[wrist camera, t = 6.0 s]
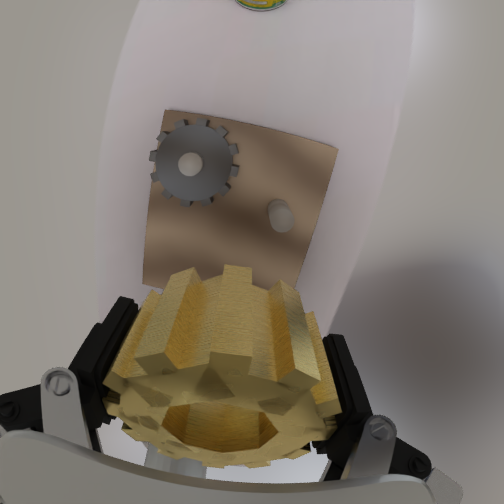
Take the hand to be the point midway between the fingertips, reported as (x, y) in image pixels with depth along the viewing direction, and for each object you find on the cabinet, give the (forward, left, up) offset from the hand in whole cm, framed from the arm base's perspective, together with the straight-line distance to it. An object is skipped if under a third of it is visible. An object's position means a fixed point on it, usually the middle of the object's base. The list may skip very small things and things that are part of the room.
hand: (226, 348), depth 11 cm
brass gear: (0, 0, 0) cm, 0 cm away
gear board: (+1, +1, -16) cm, 16 cm away
